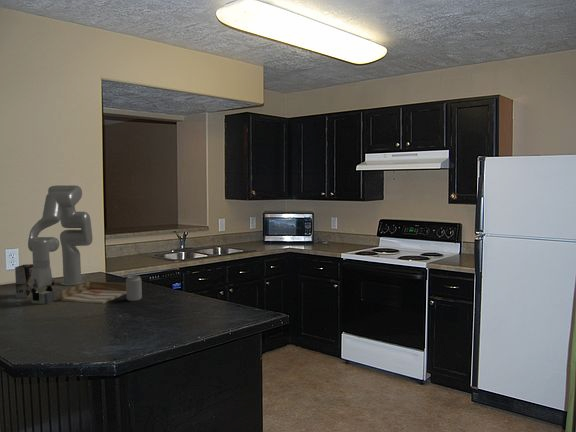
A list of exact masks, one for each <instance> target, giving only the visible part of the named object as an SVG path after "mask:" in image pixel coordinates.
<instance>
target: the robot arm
mask: <svg viewBox="0 0 576 432" xmlns="http://www.w3.org/2000/svg"><path fill="white" fill-rule="evenodd" d="M47 192H48V193H47V194H46V196H45V199H44V200H45V201H44V206H43V211H42V217H41V218H40V219H39V220H38V221H37V222H36V223H35V224H34V225H33V226H32V227H31V229H30V231H29V235H28V239H27V247H28V250H29V251H30V252H31V253H32V264H33V268H32V272H31V283H30V284H29V288H30V291H31V292H32V296H33V301H39V293H38V291H40V289H42V288H45V287H46V288H45V291H53V288H54V285H55V280H56V278H55V277H53V275H52V268H51V264H50V263H51V261H50V259H51V257H50V253H54V252H56V251H57V250H58V249H59V247H60V245H61V250H62V251H61V252H62V253H61V254H62V255H61V256H62V278H63V279H62V281H60V285H61V286H69V287H70V286H77V285H80V284H83V283H85V280H84V278H85V277H86V274H82V270H81V269H82V267H81V265H82V263H81V252H80V251H79V249H78V247H81V246H82V247H83V246H90V245H91V244H93V243H92V242H93V238H94V237H93V229H92V221H91V216H90V214H89V213H88V212H86V211H76V205H77V204H78V203H79V201H80V200H81V199H82V196H83V189H82V188H81V186H79V185H75V184H74V185H72V184H71V185H59V184H57V185H51V186H49V187H48V189H47ZM59 222H60V224H61V227H63V228H64V229H66V230H63V231H61V233H59V234H60V235H59V239H60V240H59V239H58V238H57V237H54V236H39V234H40V233H41V232H42V231H43V230H45V229H47V228H49V227H51V226H53V225H56V224H58V223H59ZM35 288H36V290H35Z"/></svg>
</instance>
